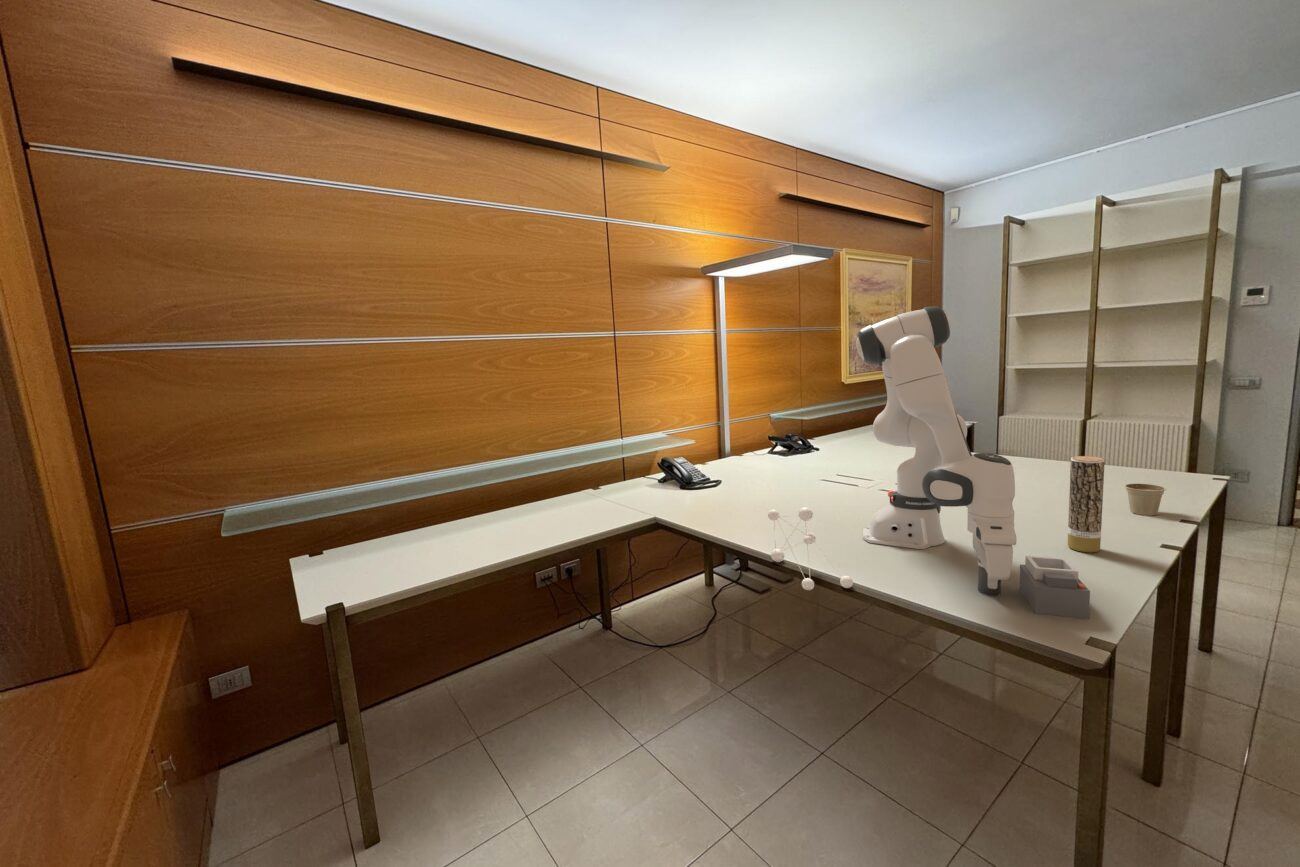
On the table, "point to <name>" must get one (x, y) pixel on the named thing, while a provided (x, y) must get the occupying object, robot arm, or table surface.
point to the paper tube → (1085, 503)
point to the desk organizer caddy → (1054, 587)
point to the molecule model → (809, 538)
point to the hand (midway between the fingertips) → (989, 582)
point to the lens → (983, 582)
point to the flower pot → (1144, 498)
